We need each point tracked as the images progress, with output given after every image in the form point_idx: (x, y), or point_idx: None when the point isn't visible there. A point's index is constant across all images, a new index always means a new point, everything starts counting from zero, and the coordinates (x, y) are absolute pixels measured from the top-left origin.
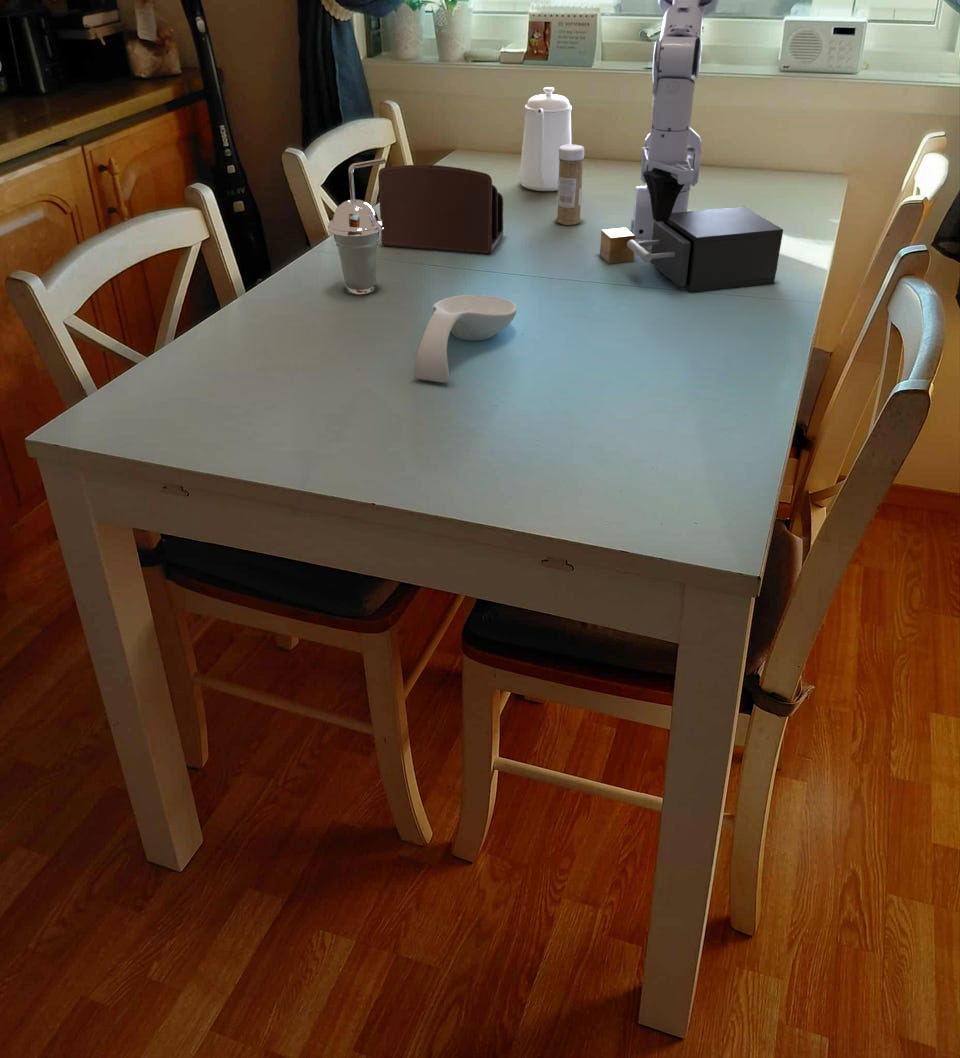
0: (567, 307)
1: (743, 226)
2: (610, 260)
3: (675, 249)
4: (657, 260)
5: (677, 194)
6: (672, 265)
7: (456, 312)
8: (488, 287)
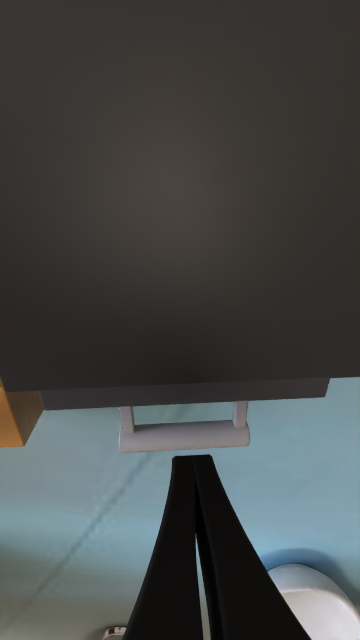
0: (254, 494)
1: (346, 19)
2: None
3: None
4: None
5: (285, 606)
6: None
7: None
8: (141, 554)
